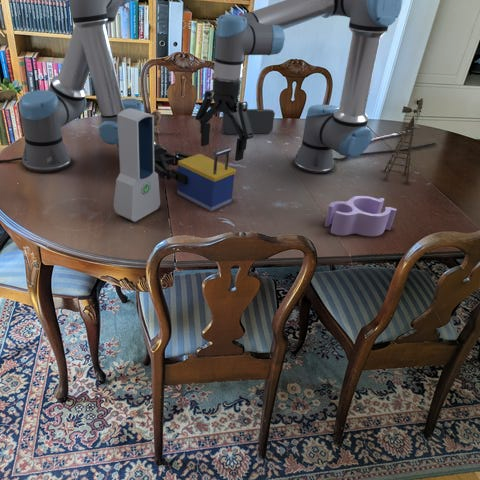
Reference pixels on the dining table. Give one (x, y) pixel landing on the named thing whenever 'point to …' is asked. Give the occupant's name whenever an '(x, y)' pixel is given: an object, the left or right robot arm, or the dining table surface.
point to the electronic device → (136, 166)
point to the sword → (387, 136)
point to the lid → (209, 165)
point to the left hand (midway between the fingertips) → (197, 175)
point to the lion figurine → (156, 117)
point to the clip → (359, 216)
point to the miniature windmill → (411, 127)
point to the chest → (205, 189)
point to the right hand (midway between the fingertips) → (221, 152)
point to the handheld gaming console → (252, 121)
